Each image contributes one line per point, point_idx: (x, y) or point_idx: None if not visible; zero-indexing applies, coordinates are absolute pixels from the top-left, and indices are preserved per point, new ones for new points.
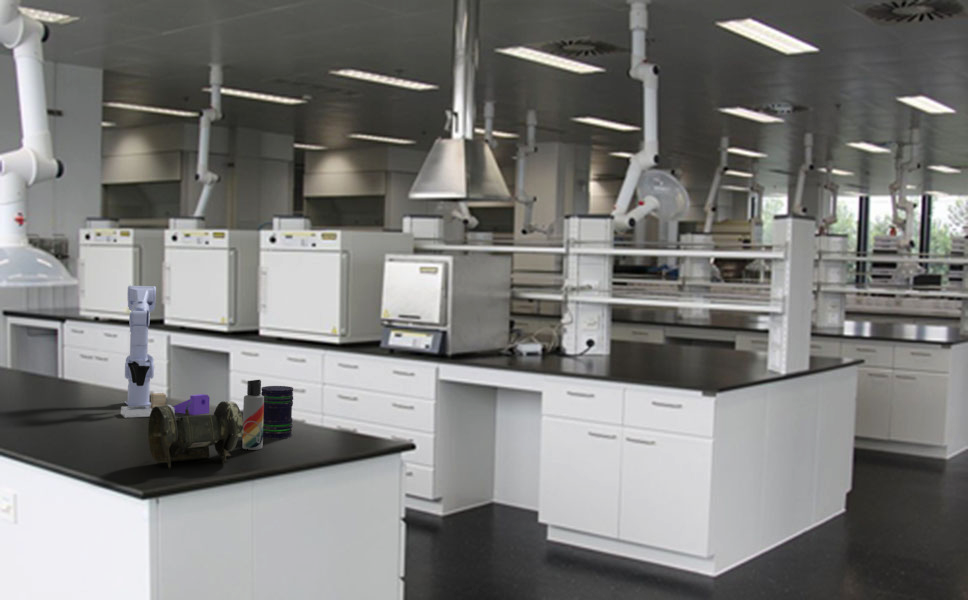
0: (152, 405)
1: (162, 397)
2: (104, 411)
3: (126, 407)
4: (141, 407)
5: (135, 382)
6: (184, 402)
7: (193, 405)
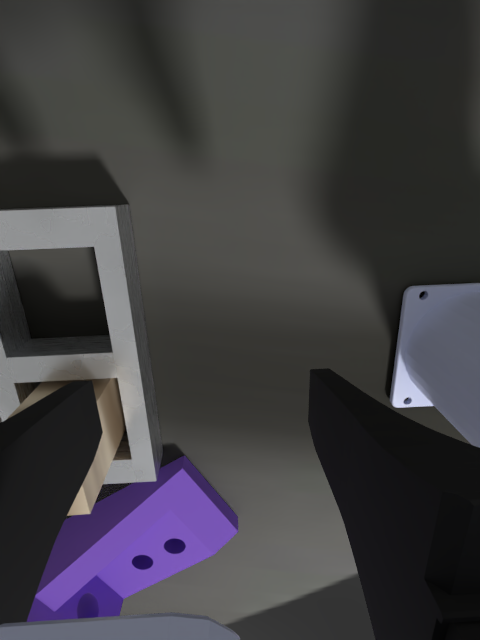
0: None
1: None
2: (262, 105)
3: (70, 239)
4: (112, 334)
5: (311, 392)
6: (81, 552)
7: None
